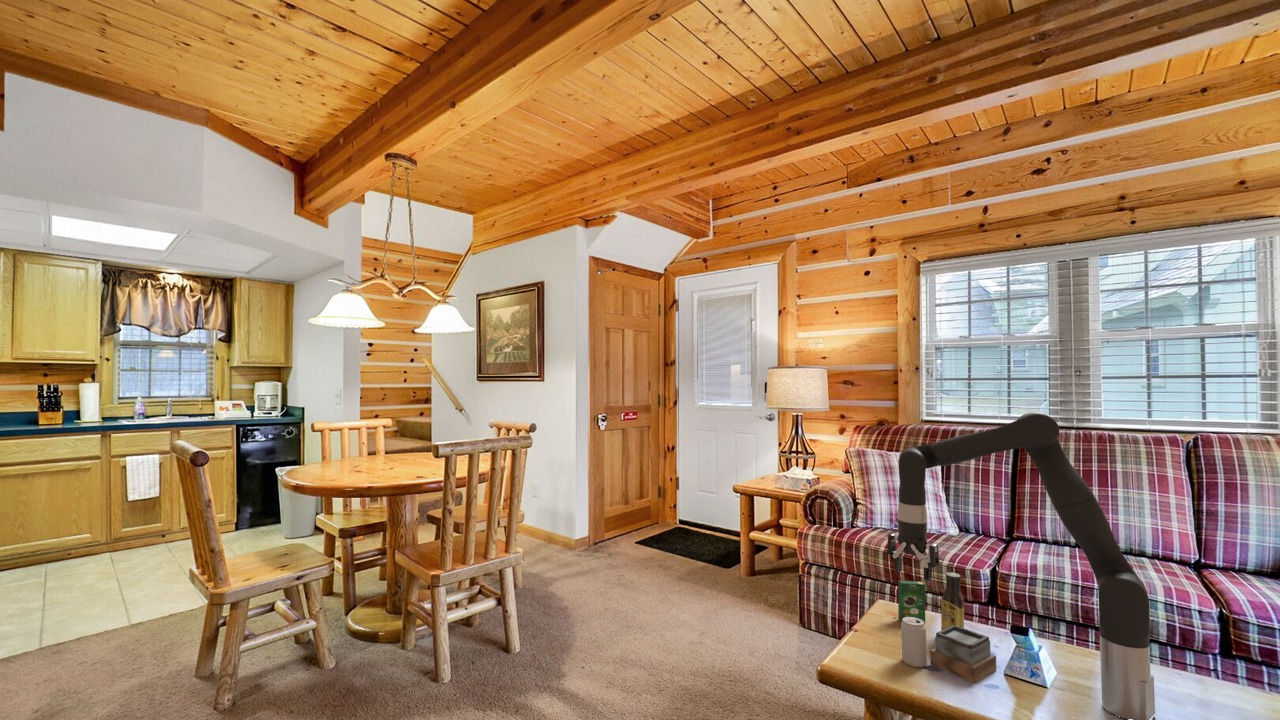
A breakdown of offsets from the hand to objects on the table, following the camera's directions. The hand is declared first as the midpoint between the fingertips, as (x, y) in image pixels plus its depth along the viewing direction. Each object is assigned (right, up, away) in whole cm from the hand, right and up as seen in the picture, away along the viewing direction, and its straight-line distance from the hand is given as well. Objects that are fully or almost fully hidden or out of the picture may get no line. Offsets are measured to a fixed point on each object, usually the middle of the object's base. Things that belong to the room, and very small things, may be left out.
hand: (912, 575), depth 161 cm
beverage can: (0, -25, -1) cm, 25 cm away
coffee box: (+13, -26, +27) cm, 40 cm away
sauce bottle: (+20, -26, +15) cm, 36 cm away
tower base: (+13, -25, -3) cm, 28 cm away
